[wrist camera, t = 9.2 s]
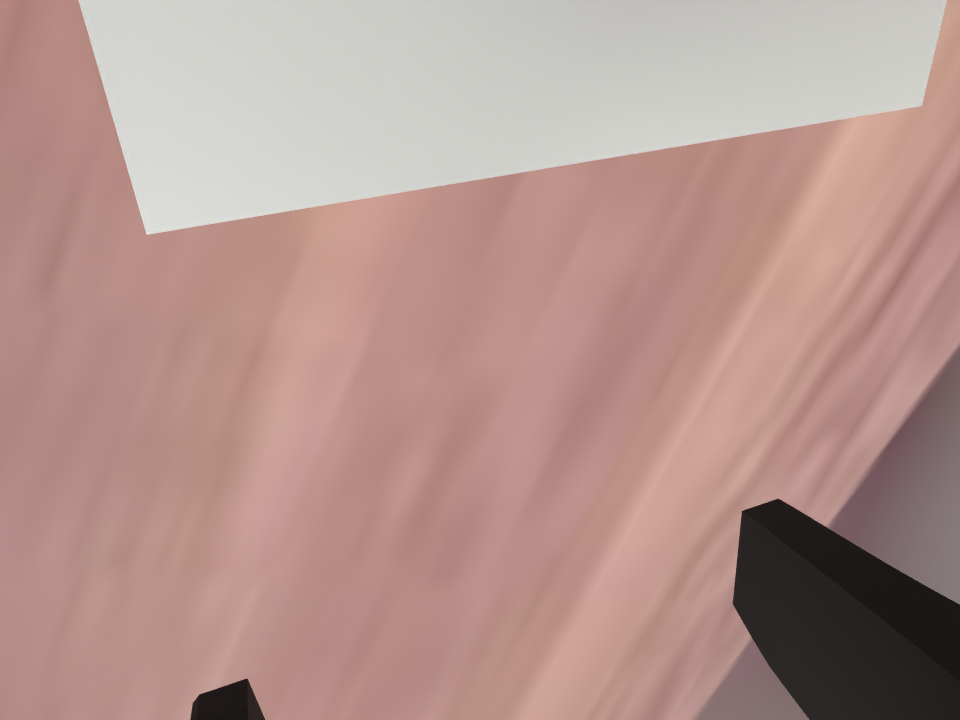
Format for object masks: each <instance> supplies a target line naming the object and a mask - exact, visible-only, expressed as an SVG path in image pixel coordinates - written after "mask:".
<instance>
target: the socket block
mask: <svg viewBox="0 0 960 720" xmlns="http://www.w3.org/2000/svg"><path fill="white" fill-rule="evenodd" d="M79 3H80V7H81V10H82V14H83V17H84V20H85V24H86V27H87V31H88V34H89V38H90V41H91V45H92V48H93V51H94V55H95V58H96V62H97V65H98V69H99V72H100V76H101V79H102V82H103V86H104V89H105V93H106V96H107V100H108V103H109V106H110V110H111V113H112V117H113V120H114V124H115V127H116V131H117V134H118V137H119V141H120V144H121V148H122V151H123V155H124V158H125V162H126V165H127V168H128V172H129V175H130V179H131V182H132V186H133V189H134V192H135V196H136V199H137V203H138V206H139V210H140V213H141V217H142V220H143V223H144V227H145V230H146V234H153V233H159V232H165V231H171V230H177V229H183V228H189V227H195V226H201V225H208V224H214V223H220V222H226V221H232V220H238V219H244V218H250V217H256V216H262V215H268V214H274V213H280V212H286V211H292V210H298V209H304V208H310V207H316V206H322V205H328V204H334V203H340V202H346V201H352V200H358V199H364V198H370V197H376V196H382V195H388V194H394V193H400V192H407V191H413V190H419V189H425V188H431V187H437V186H443V185H449V184H455V183H461V182H467V181H473V180H479V179H485V178H491V177H497V176H503V175H509V174H515V173H521V172H527V171H533V170H539V169H545V168H551V167H557V166H563V165H569V164H575V163H581V162H587V161H593V160H599V159H605V158H612V157H618V156H624V155H630V154H636V153H642V152H648V151H654V150H660V149H666V148H672V147H678V146H684V145H690V144H696V143H702V142H708V141H714V140H720V139H726V138H732V137H738V136H744V135H750V134H756V133H762V132H768V131H774V130H780V129H786V128H792V127H798V126H804V125H810V124H817V123H823V122H829V121H835V120H841V119H847V118H853V117H859V116H865V115H871V114H877V113H883V112H889V111H895V110H901V109H907V108H913V107H919V106H922V102H923V98H924V94H925V90H926V86H927V82H928V77H929V73H930V69H931V65H932V61H933V57H934V52H935V48H936V44H937V40H938V36H939V32H940V28H941V23H942V19H943V15H944V11H945V7H946V3H947V0H79Z"/></svg>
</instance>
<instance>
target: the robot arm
mask: <svg viewBox="0 0 960 720" xmlns="http://www.w3.org/2000/svg"><path fill="white" fill-rule="evenodd" d="M733 605H734V607H735V609H736V610H737V612H738V614H739V616H740V617H741V619H742V621H743V623H744V624H745V626H746V628H747V630H748V631H749V633H750V635H751V637H752V638H753V640H754V642H755V643H756V645H757V646H758V648H759V650H760V651H761V653H762V655H763V656H764V658H765V660H766V661H767V663H768V665H769V666H770V668H771V669H772V670H773V672H774V673H775V674H776V676H777V677H778V678H779V680H780V681H781V683H782V684H783V685H784V686H785V688H786V689H787V690H788V692H789V693H790V694H791V696H792V697H793V698H794V700H795V701H796V702H797V704H798V705H799V706H800V708H801V709H802V710H803V712H804V713H805V714H806V716H807V717H808V718H809V719H810V720H960V605H959V604H957V603H956V602H954V601H952V600H950V599H948V598H946V597H945V596H943V595H941V594H939V593H937V592H935V591H934V590H932V589H930V588H928V587H927V586H925V585H923V584H921V583H919V582H918V581H916V580H914V579H913V578H911V577H909V576H907V575H906V574H903V573H902V572H900V571H899V570H897V569H895V568H893V567H892V566H890V565H888V564H887V563H885V562H883V561H882V560H880V559H878V558H876V557H875V556H873V555H871V554H870V553H868V552H866V551H865V550H863V549H861V548H860V547H858V546H856V545H855V544H853V543H851V542H850V541H848V540H846V539H845V538H843V537H841V536H840V535H838V534H836V533H835V532H833V531H831V530H830V529H828V528H827V527H825V526H823V525H822V524H820V523H818V522H817V521H815V520H813V519H812V518H810V517H808V516H807V515H805V514H804V513H802V512H800V511H799V510H797V509H795V508H794V507H792V506H790V505H788V504H787V503H785V502H783V501H782V500H780V499H776V500H773V501H770V502H767V503H764V504H761V505H758V506H755V507H752V508H749V509H746V510H744V511H742V517H741V527H740V537H739V547H738V557H737V567H736V577H735V587H734V597H733ZM191 720H265V718H264V716H263V714H262V711H261V709H260V707H259V704H258V702H257V700H256V697H255V695H254V693H253V690H252V688H251V686H250V683H249V681H248V679H244V680H241V681H238V682H235V683H232V684H230V685H227V686H224V687H221V688H218V689H215V690H212V691H209V692H206V693H203V694H200V695H199V696H198V697H197V699H196V700H195V701H194V703H193V706H192V713H191Z"/></svg>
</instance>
